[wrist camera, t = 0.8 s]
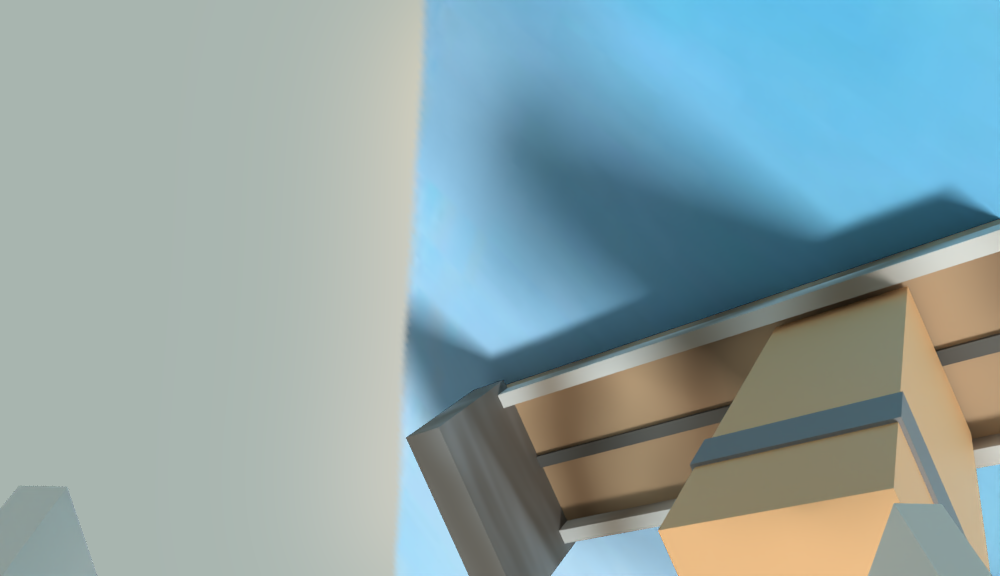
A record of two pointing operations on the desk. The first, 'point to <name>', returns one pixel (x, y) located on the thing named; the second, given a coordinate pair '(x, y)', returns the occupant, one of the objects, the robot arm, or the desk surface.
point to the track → (675, 410)
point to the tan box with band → (827, 450)
